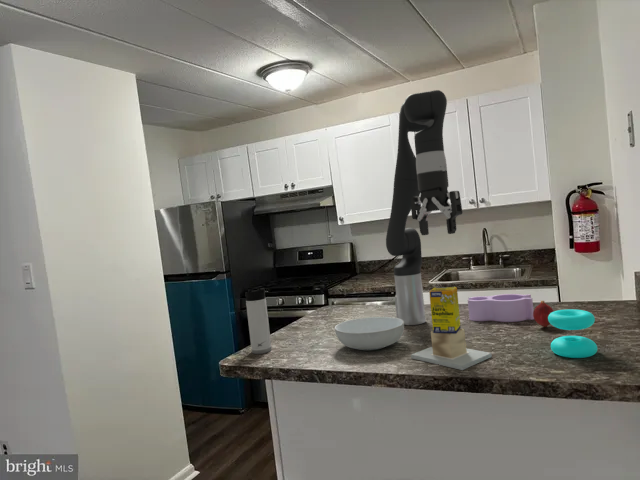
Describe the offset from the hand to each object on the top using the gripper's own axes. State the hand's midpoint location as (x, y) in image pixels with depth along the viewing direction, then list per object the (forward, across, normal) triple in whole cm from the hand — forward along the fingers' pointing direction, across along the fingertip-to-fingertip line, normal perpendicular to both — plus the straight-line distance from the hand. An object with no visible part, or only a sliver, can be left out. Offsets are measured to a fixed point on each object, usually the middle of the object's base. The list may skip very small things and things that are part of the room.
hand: (438, 234), depth 116 cm
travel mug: (+32, -52, -27) cm, 67 cm away
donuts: (+32, +22, +19) cm, 43 cm away
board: (+32, 0, 0) cm, 32 cm away
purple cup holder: (+32, -13, +43) cm, 56 cm away
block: (+31, 0, 0) cm, 31 cm away
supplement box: (+25, 0, 0) cm, 25 cm away
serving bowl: (+32, -26, -4) cm, 42 cm away
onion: (+32, +5, +38) cm, 50 cm away
